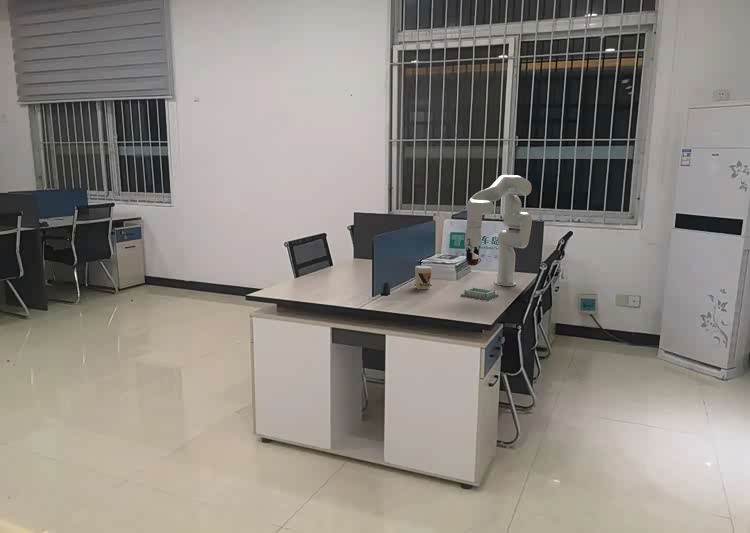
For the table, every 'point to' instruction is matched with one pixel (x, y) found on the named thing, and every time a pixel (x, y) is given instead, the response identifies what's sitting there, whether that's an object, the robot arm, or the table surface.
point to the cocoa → (474, 259)
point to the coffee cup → (423, 277)
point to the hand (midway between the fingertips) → (472, 258)
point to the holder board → (479, 293)
